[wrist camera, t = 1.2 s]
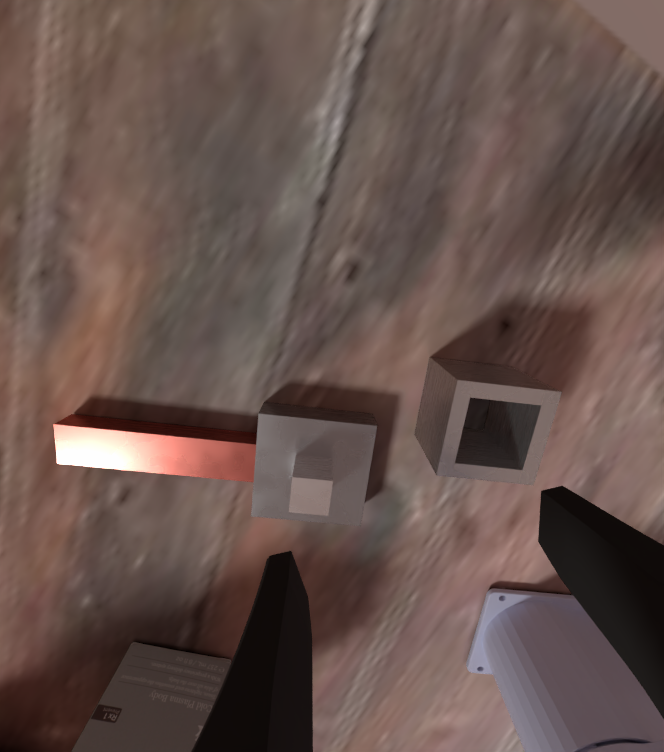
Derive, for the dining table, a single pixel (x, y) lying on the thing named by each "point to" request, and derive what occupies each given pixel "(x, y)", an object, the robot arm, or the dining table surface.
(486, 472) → the socket
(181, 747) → the skincare box
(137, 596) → the dining table surface
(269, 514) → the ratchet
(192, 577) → the dining table surface
